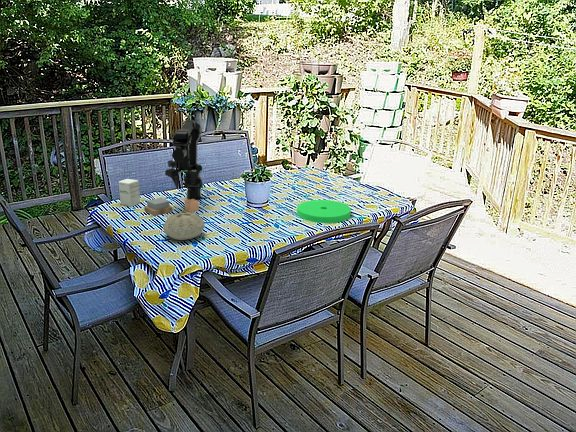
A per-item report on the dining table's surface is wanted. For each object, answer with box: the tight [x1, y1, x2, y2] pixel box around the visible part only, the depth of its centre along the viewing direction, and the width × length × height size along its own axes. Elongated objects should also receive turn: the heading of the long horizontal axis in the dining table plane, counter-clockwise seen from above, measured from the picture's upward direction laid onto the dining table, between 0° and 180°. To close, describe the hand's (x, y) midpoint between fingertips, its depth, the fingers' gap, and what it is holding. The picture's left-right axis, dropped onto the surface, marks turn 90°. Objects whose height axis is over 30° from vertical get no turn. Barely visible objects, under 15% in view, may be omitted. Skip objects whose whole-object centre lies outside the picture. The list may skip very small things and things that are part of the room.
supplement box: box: [118, 178, 141, 207], centre depth 262 cm, size 7×7×13 cm
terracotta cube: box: [184, 198, 200, 213], centre depth 256 cm, size 5×5×5 cm
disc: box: [296, 199, 352, 224], centre depth 254 cm, size 27×27×3 cm
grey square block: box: [146, 197, 171, 210], centre depth 253 cm, size 8×8×3 cm
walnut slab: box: [143, 205, 173, 217], centre depth 253 cm, size 10×10×3 cm
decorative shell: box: [163, 211, 205, 241], centre depth 222 cm, size 18×18×10 cm
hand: (185, 186), depth 253 cm, fingers open, 9 cm apart
